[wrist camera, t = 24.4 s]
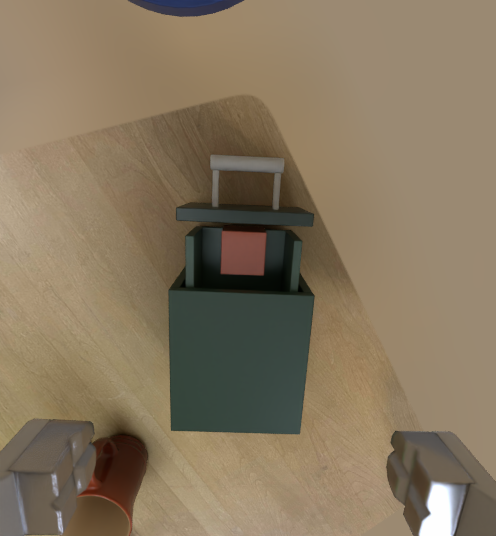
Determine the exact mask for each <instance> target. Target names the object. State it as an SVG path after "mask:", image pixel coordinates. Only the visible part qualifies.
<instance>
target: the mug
mask: <svg viewBox="0 0 496 536" xmlns="http://www.w3.org/2000/svg"><path fill="white" fill-rule="evenodd" d="M92 444H93V445H94V446H95V448H96V465H95V469H94V472H93V475H92V479H91V481H90V483H89V485H88V487H87V489H86V490H84V491H83V492H82V493H81V494H79V495H78V496H77V508H76V510H75V512H74V514H73V516H72V518H71V520H70V521H69V523H68V525H67V527H66V529H65V531H64V533H63V535H60V536H130V534H131V530H132V518H133V506H134V502H135V499H136V496H137V494H138V491H139V489H140V486H141V483H142V480H143V477H144V475H145V473H146V466H147V460H148V454H147V450H146V448H145V446H144V445H143V444H142V443H141V442H140V441H139V440H137V439H135V438H133V437H131V436H127V435H117V436H113V437H110V438H107V437H104V438H99V439H97V440H95V441H94V442H93V443H92Z"/></svg>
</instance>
